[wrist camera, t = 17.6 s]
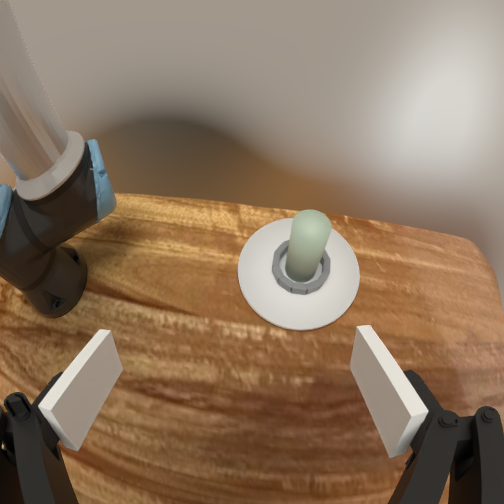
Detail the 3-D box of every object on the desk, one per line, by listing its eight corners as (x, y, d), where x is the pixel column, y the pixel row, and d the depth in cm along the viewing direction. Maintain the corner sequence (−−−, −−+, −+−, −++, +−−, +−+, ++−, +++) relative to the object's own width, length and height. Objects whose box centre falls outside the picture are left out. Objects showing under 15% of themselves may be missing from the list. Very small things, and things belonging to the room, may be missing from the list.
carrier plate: (227, 321, 42) (225, 314, 40) (249, 215, 52) (248, 204, 49) (356, 336, 40) (362, 331, 37) (356, 229, 50) (361, 219, 47)
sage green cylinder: (283, 280, 44) (290, 239, 34) (286, 253, 47) (293, 207, 36) (314, 284, 44) (331, 245, 33) (316, 256, 46) (331, 212, 36)
